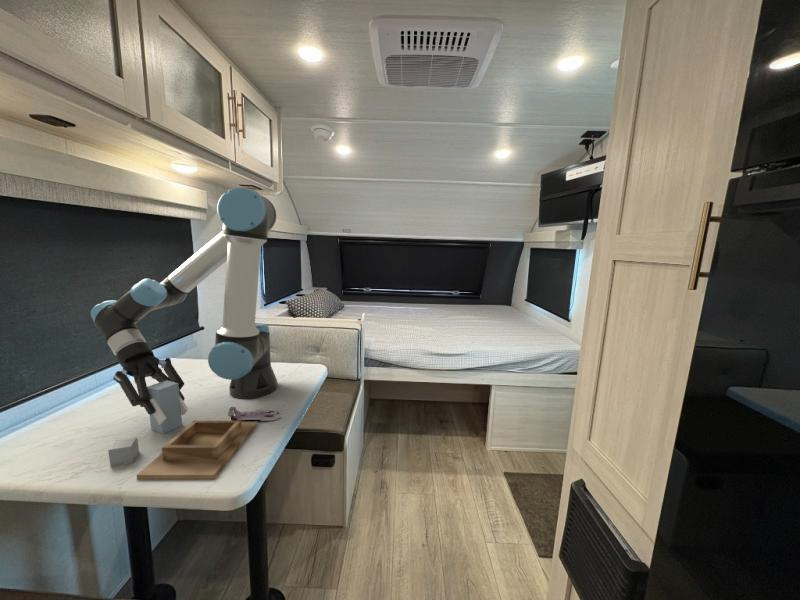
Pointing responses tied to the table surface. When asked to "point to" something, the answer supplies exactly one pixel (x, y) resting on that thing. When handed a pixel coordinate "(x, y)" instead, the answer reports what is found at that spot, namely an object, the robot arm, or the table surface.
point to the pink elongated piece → (253, 415)
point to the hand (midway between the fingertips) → (174, 416)
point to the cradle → (199, 450)
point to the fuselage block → (166, 405)
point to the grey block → (123, 451)
